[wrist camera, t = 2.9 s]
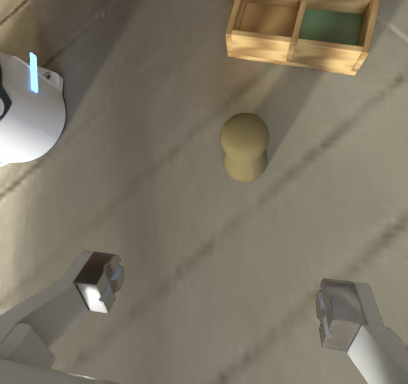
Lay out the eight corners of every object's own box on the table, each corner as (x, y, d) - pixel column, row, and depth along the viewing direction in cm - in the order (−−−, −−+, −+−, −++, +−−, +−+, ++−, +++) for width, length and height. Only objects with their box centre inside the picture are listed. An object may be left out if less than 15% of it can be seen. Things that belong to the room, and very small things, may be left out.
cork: (222, 142, 40) (213, 107, 29) (264, 138, 39) (271, 100, 28) (225, 183, 39) (216, 162, 28) (269, 179, 38) (277, 156, 27)
